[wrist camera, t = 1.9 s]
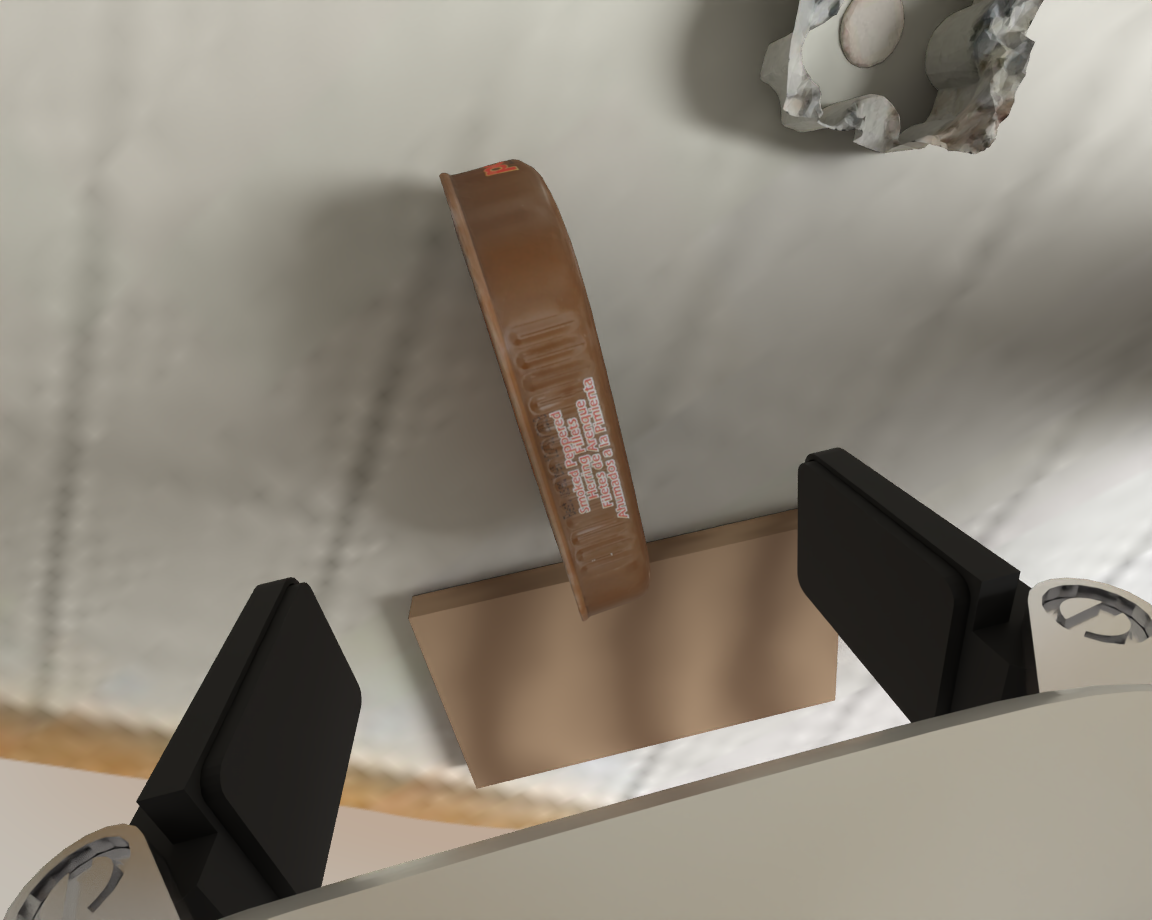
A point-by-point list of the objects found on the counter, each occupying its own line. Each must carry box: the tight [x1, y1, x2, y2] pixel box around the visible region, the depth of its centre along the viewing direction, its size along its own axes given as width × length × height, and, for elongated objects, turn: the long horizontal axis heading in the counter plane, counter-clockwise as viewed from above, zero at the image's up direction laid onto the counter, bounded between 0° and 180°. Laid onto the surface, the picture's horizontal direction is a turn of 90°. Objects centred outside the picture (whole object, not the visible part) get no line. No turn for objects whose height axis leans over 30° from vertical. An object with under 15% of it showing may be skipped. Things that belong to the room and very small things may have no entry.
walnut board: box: [408, 509, 838, 788], centre depth 28 cm, size 20×12×2 cm, turn 100°
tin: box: [439, 159, 651, 622], centre depth 19 cm, size 15×3×8 cm, turn 14°
